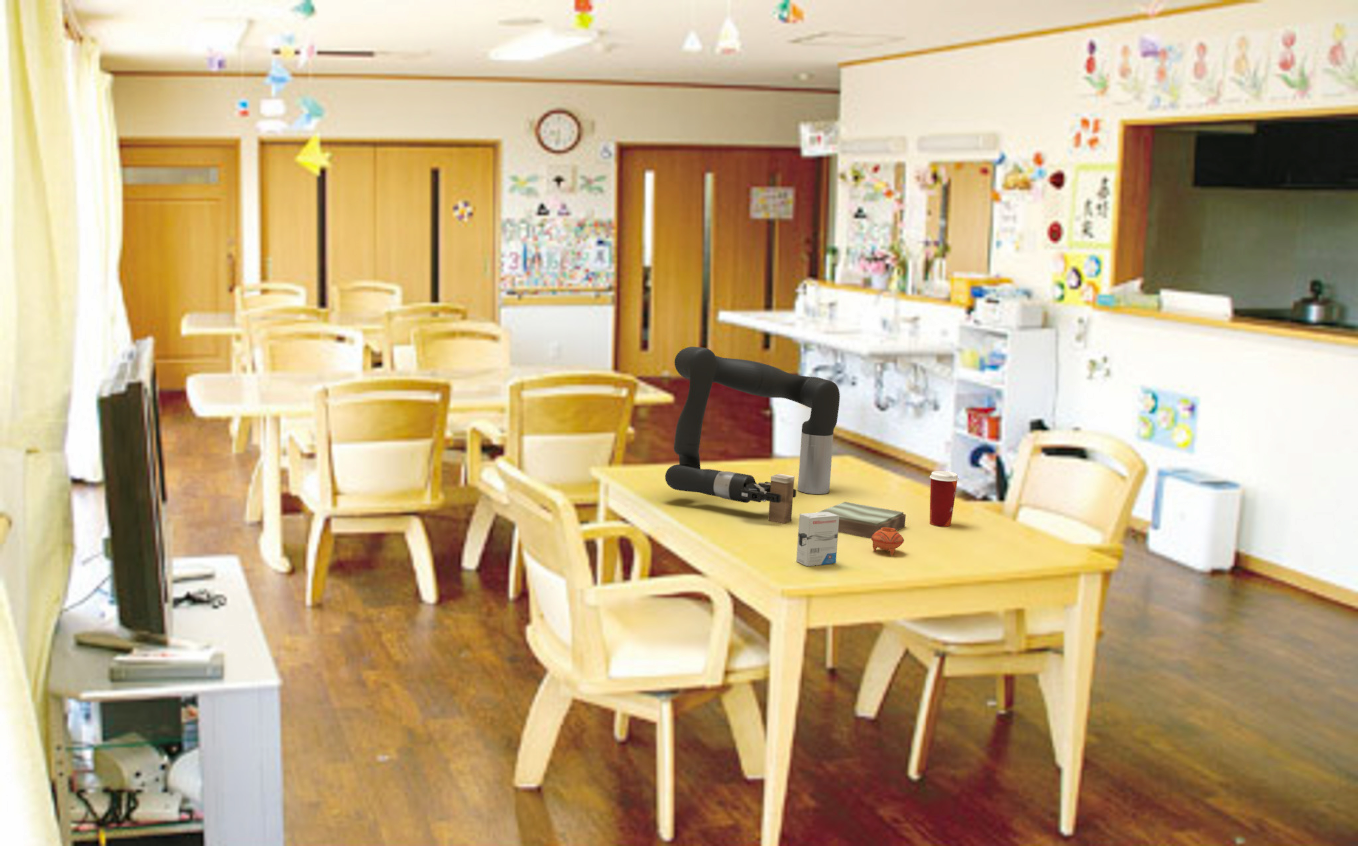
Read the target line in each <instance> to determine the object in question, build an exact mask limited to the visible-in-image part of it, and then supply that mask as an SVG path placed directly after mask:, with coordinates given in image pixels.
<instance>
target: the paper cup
mask: <svg viewBox="0 0 1358 846" xmlns="http://www.w3.org/2000/svg"><path fill="white" fill-rule="evenodd" d="M929 479H930V489H929V490H930V493H929V494H930V496H929V497H930V499H929V524H930V525H931V526H936V527H942V528H943V527H947V528H948V527H950V526H951V525H952V524H951V523H952V520H953V514H954V505H955V499H956V494H957V493H956V492H957V485H958V481H959V478H958V474H957V473H955V472H953V471H946V470H933V471H932V472H931V475H929Z"/></svg>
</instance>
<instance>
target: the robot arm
mask: <svg viewBox="0 0 1358 846" xmlns="http://www.w3.org/2000/svg"><path fill="white" fill-rule="evenodd" d="M674 357H675V358H674V362H673V363H674V367H675V370H676V371H677V373H678V374H679V375H680V376H681V377H682V378H684V379H685V380H686V379H687V380H689V386H688V388H689V389H688V394H687V398H686V401H685V403H684V406H683V408H682V410H681V412H680V414H679V417H678V420H677V422H676V423H677V424H676V426H675V427H676V428H675V435H674V443H673V451H674V453H675V454H676V455H678V461H679V462H678V463H679V464H678V463H677V464H674V465H671V466H670V467H669V468H668V469H666V472H665V476H664V478H665V479H664V480H665V482H666V484H667V486H668V487H670V488H671V489H673V490H675V491H680V492H689V493H691V492H692V493H700V494H704V495H707V496H711V497H712V496H713V497H718V498H721V499H724V500H729V501H735V502H738V503H739V502H740V503H746V504H747V503H750V502H751V501H752V502H757V503H762V502H763V503H765V502H769V503H770V502H776V503H779V502H781V495H780V494H775V493H770V488H771V481H770V482H769V481H764V482H758V483H757V482H756V479H755V477H754V476H753V475H751V474H745V473H740V472H734V471H724V470H718V469H711V468H709V469H708V468H701V459H700V457H701V456H700V445H701V438H702V436H701V435H702V430H703V423H704V418H705V417H704V416H705V414H706V413H705V412H706V410H707V409H706V408H707V406H708V405H707V404H708V401H709V397H710V394H711V390H712V387H713V383H717V384H720V385H722V386H725V387H728V388H730V389H733V390H736V391H739V392H743V393H745V394H749V395H753V396H757V397H758V396H759V397H762V398H770V399H771V398H773V399H777V398H778V399H780V398H781V399H785V400H789V401H792V402H795V403H798V404H801V405H803V406H805V407H806V408H810V415H809V416H810V417H809V419H808V420H805V421H803V423H802V425H801V436H800V450H799V451H800V452H799V464H798V465H799V467H798V481H797V490H798V491H799V492H802V493H805V494H813V495H824V494H825V495H826V494H828V493H830V487H831V475H832V474H831V471H832V460H833V459H832V458H833V457H832V456H833V446H834V445H833V443H834V431H835V428H836V425H837V423H838V419H839V418H838V417H839V411H840V410H839V408H840V399H841V398H840V397H841V395H840V394H841V393H840V389H839V386H838V385H837V384H836V383H835V382H834V381H831V379H830V380H829V379H825V378H822V377H817V376H805V375H798V374H793V373H789V372H786V371H785V370H782V369H781V368H778V367H776V366H773V365H771V364H766V363H763V362H758V361H753V360H750V359H749V360H748V359H742V358H741V359H739V358H728V357H722V356H718V355H716V354H715V352H713V351H712V350H711V349H709V348H707V347H700V346H688V347H685V348H683V349H681V350H680V351H678V352H677V354H676V355H675V356H674ZM797 490H796V489H795V488H794V489H793V499H794V498H796V496H797Z"/></svg>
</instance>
